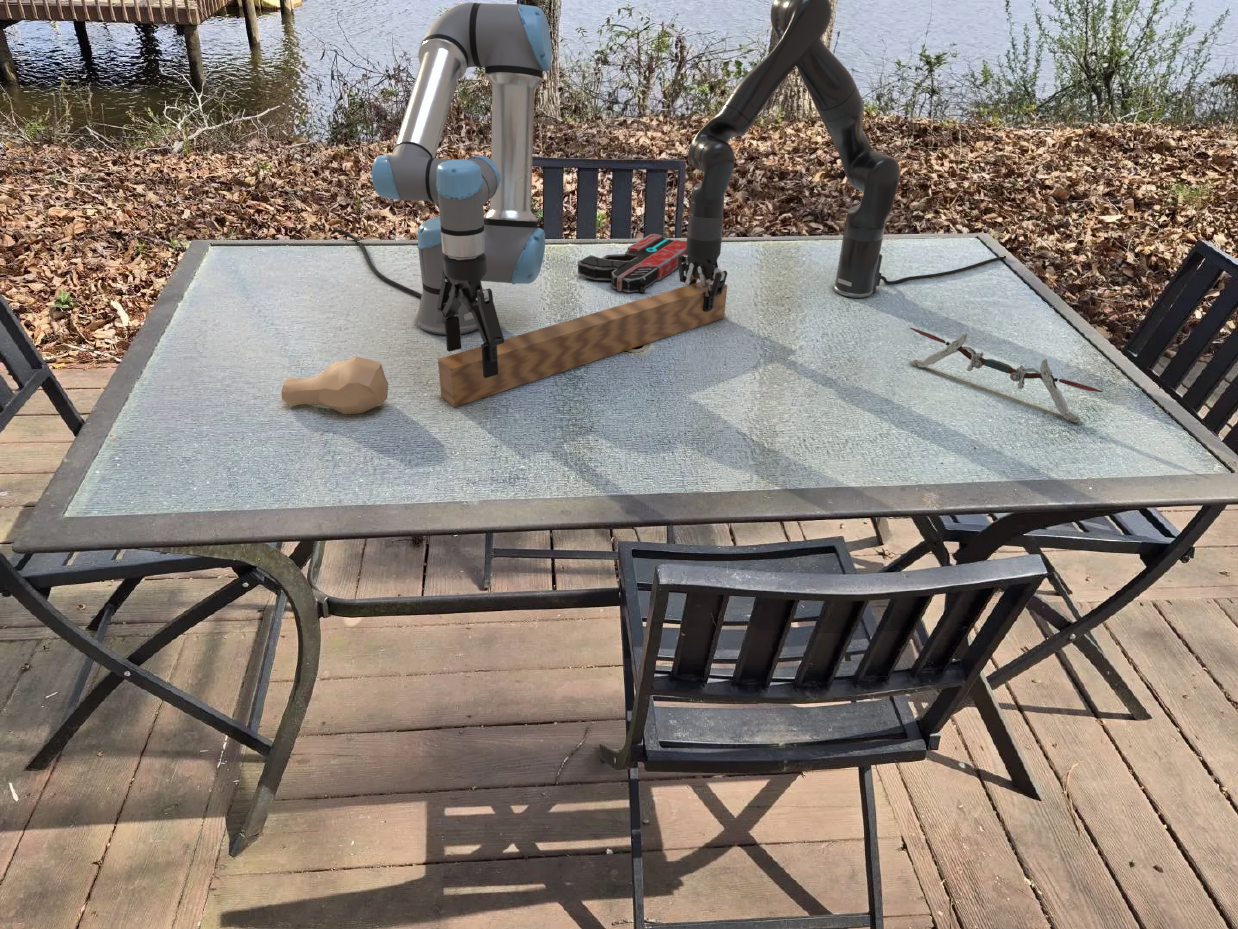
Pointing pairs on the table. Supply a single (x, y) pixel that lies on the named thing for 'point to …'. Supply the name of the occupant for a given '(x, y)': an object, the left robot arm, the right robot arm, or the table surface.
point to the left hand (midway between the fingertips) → (472, 362)
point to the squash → (341, 387)
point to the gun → (635, 263)
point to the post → (576, 342)
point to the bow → (1015, 375)
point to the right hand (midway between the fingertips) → (698, 306)
